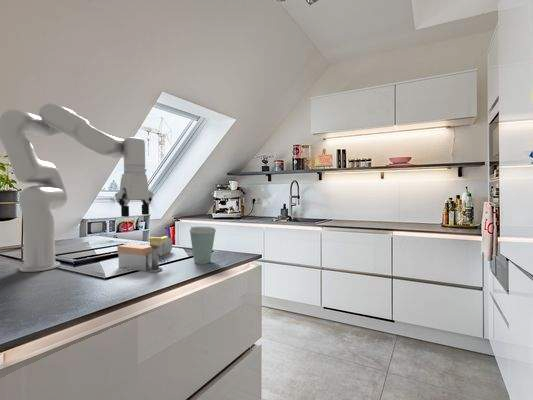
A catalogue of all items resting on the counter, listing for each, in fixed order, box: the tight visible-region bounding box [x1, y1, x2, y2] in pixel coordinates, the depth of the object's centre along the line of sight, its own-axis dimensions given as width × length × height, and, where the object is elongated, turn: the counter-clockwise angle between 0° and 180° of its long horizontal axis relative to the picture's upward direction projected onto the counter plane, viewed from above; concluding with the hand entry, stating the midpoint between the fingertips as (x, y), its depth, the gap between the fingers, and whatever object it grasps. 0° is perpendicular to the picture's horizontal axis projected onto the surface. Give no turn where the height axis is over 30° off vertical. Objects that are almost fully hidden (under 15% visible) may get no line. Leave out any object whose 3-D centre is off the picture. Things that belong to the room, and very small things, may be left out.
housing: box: [117, 246, 163, 273], centre depth 116 cm, size 19×5×9 cm, turn 66°
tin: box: [158, 235, 173, 258], centre depth 140 cm, size 15×3×8 cm, turn 172°
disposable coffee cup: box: [189, 226, 217, 265], centre depth 126 cm, size 11×11×15 cm
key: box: [148, 235, 169, 246], centre depth 117 cm, size 11×4×3 cm, turn 172°
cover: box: [116, 243, 152, 256], centre depth 117 cm, size 13×6×2 cm, turn 66°
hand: (135, 215), depth 117 cm, fingers open, 9 cm apart
